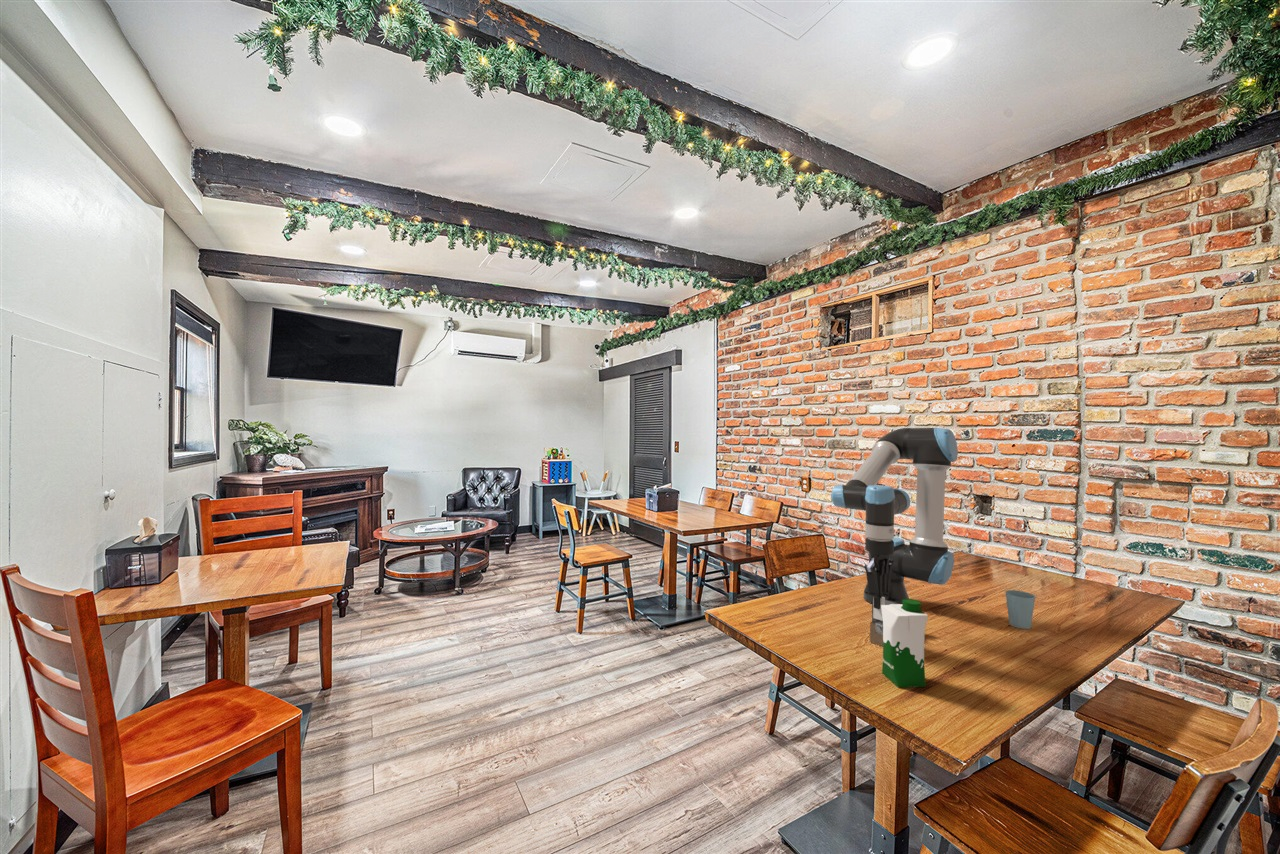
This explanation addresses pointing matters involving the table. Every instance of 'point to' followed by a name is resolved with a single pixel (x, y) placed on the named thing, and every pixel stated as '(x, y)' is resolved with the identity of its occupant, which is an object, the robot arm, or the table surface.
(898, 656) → the milk carton
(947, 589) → the table surface
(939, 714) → the table surface
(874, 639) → the rail
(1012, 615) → the cup
